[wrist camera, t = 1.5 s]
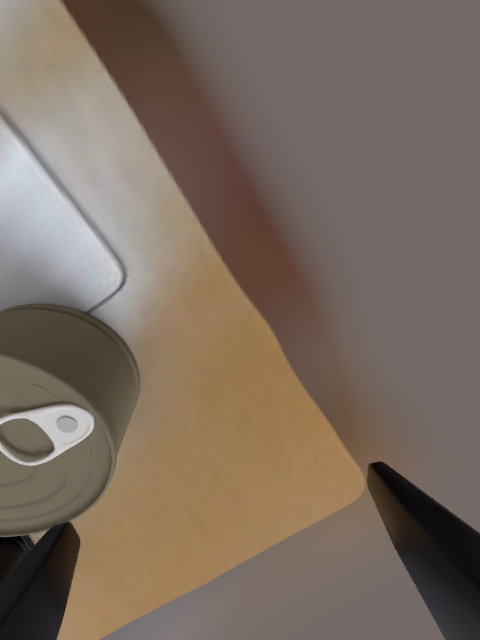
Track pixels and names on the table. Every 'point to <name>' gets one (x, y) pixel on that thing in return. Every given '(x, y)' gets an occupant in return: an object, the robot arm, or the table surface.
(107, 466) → the can
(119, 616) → the table surface
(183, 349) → the table surface
